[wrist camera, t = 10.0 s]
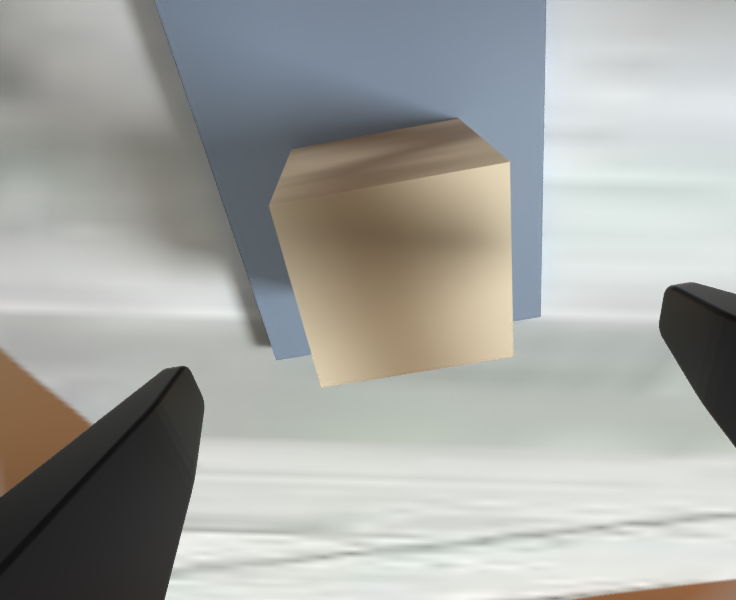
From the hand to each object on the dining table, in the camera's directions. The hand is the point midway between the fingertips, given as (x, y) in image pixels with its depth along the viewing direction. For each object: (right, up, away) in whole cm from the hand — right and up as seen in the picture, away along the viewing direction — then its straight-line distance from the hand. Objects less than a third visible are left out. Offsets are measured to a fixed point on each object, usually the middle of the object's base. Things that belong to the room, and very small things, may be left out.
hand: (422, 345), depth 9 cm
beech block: (0, +4, +6) cm, 7 cm away
